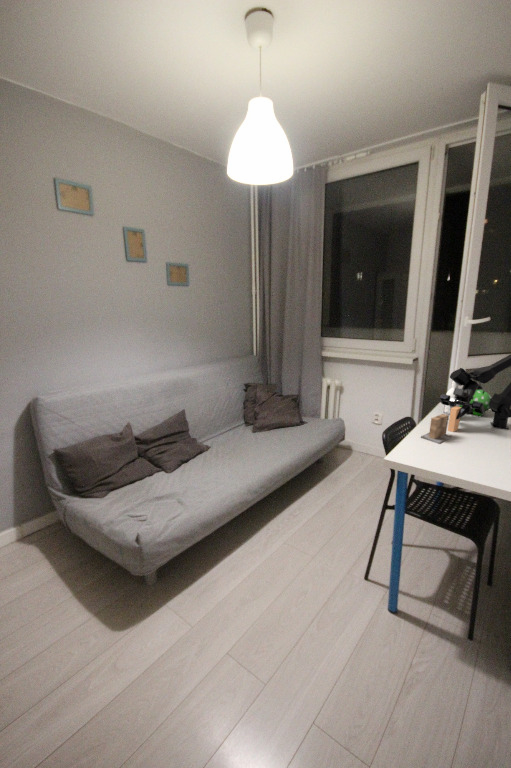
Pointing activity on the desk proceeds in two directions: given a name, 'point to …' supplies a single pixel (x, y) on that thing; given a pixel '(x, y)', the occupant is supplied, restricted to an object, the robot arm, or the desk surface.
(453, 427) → the block
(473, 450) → the desk surface
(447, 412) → the bath foam
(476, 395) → the piggy bank
